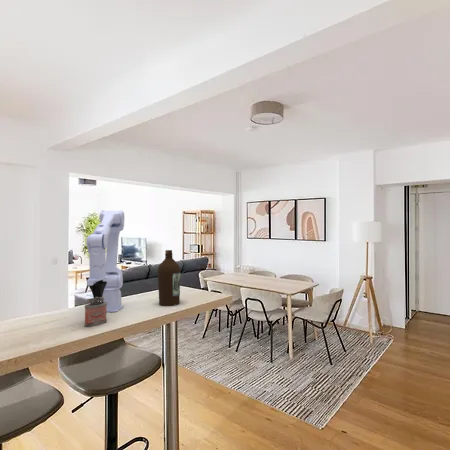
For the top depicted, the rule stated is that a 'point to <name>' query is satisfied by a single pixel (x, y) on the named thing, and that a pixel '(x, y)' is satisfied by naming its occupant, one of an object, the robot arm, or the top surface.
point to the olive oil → (169, 281)
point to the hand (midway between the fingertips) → (98, 301)
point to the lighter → (95, 312)
